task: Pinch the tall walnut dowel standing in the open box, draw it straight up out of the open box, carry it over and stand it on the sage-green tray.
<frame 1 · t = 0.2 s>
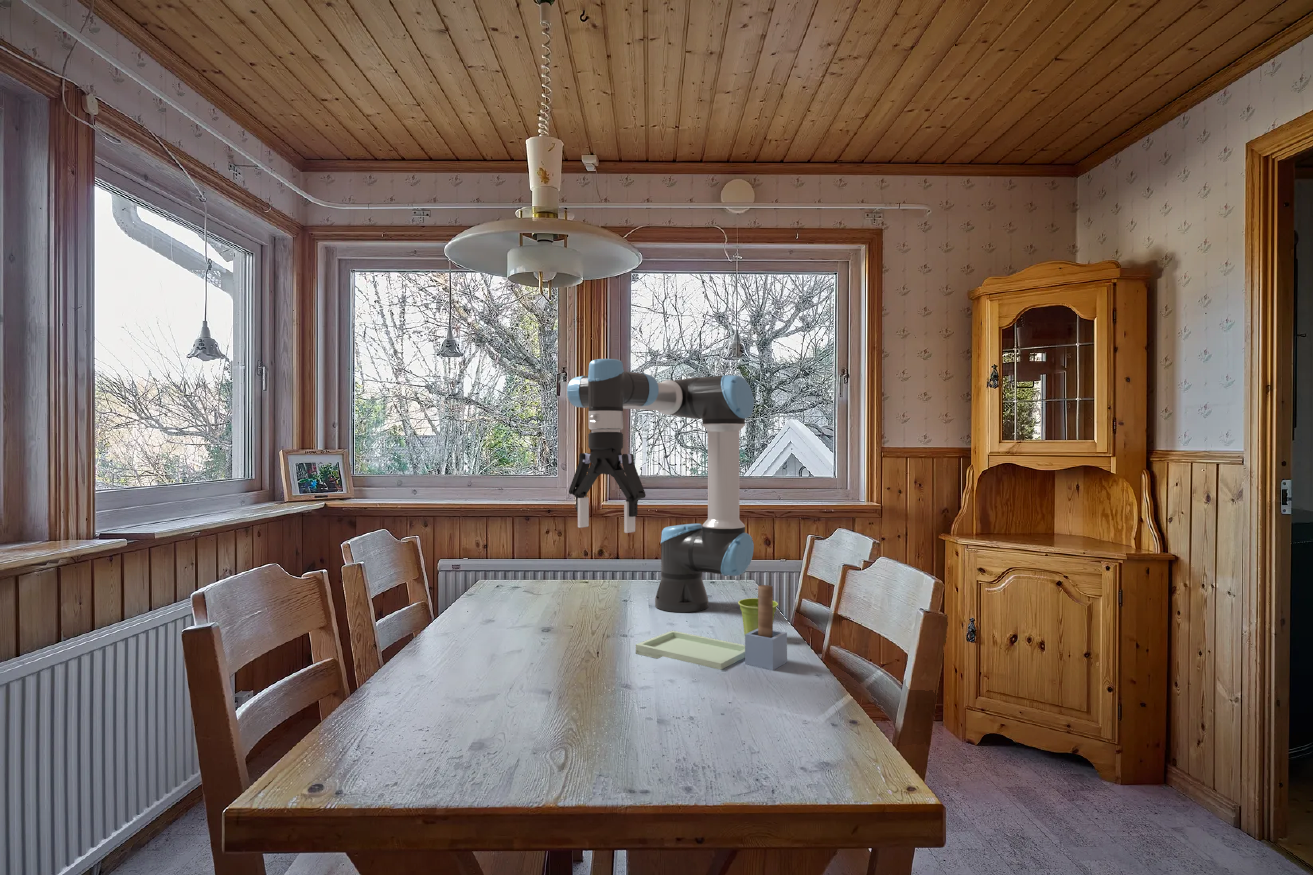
hand: (605, 529, 150), 28 cm above the table, fingers open, 13 cm apart
dowel: (765, 663, 144), point 1 cm above the table, touching open box
open box: (766, 666, 144), on the table
plant pot: (758, 639, 165), on the table
tray: (694, 654, 153), on the table
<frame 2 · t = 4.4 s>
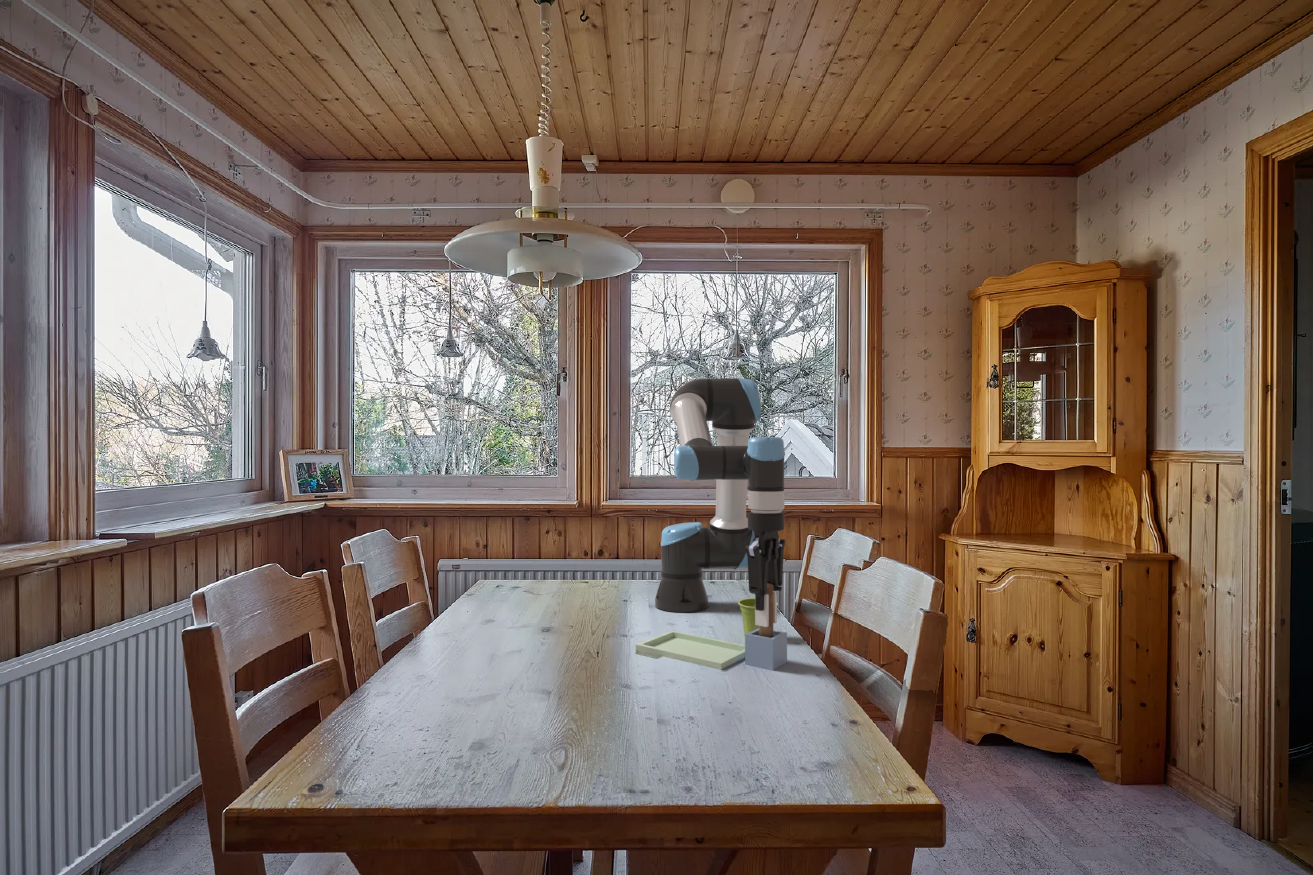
hand: (766, 623, 145), 9 cm above the table, fingers closed on dowel, 3 cm apart
dowel: (766, 661, 145), point 1 cm above the table, touching gripper
everything else where it was.
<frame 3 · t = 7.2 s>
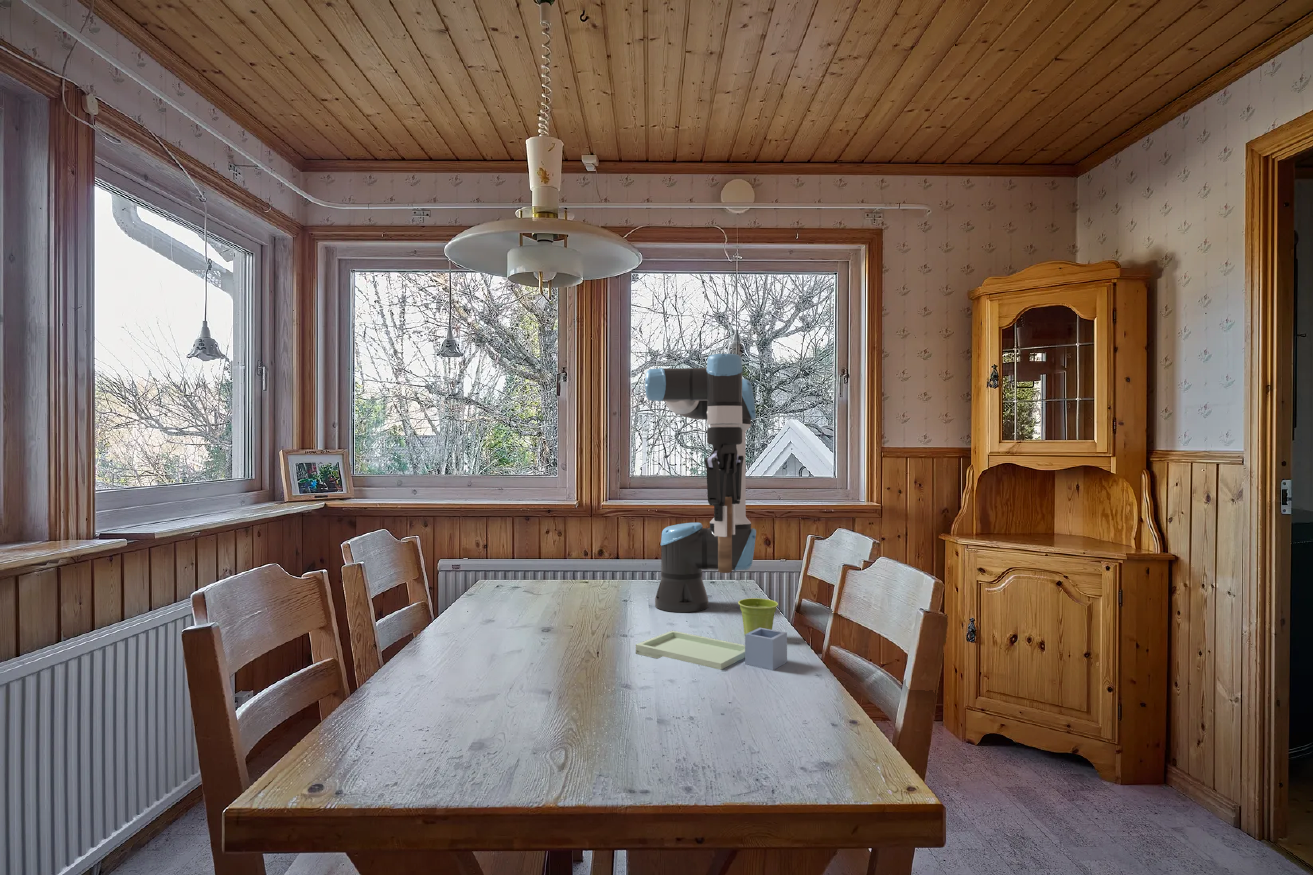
hand: (724, 534, 150), 27 cm above the table, fingers closed on dowel, 3 cm apart
dowel: (725, 571, 150), point 19 cm above the table, touching gripper
everything else where it was.
when the fingers open (10 cm above the table, at t = 10.6 s): dowel drops 1 cm, resting on tray.
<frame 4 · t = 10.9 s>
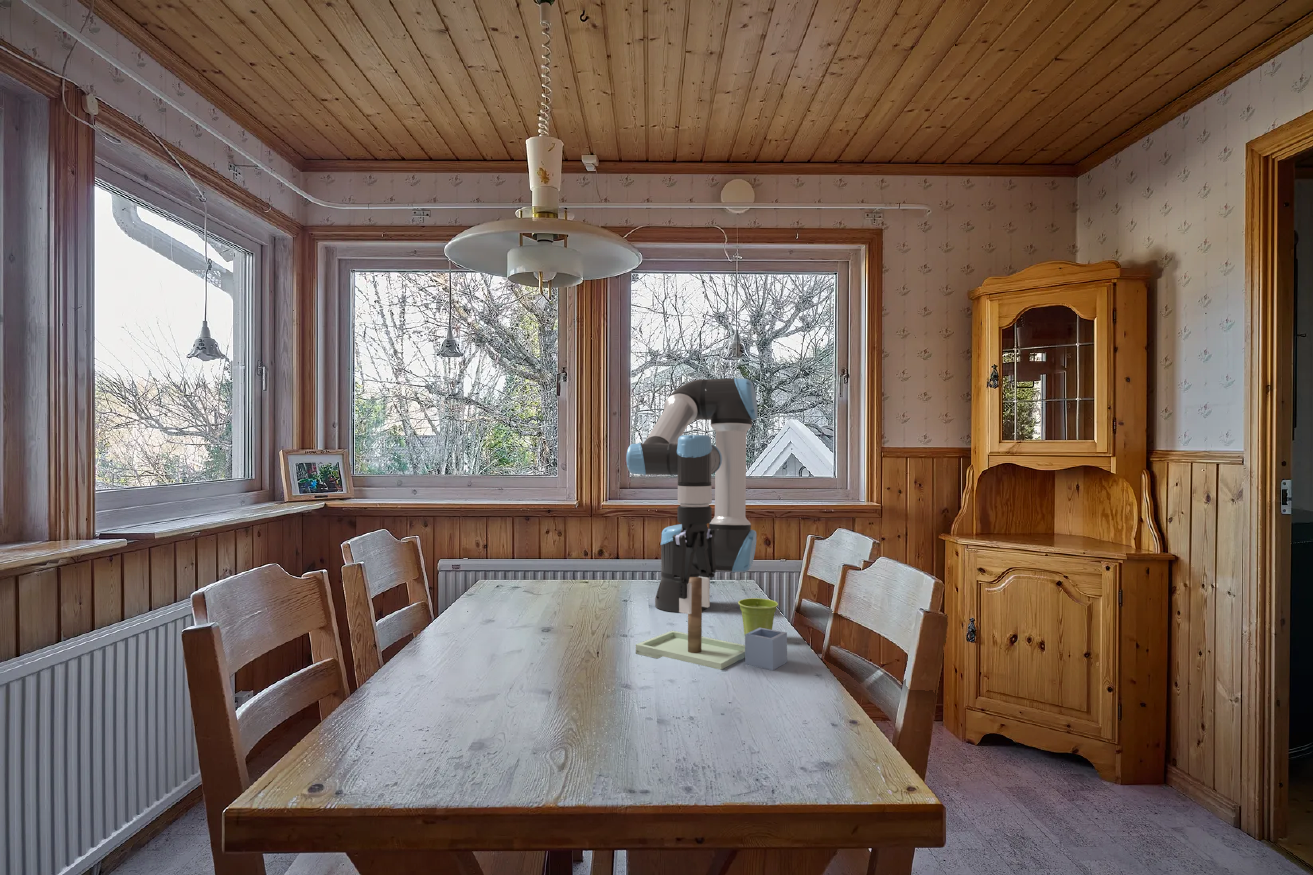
hand: (694, 609, 153), 10 cm above the table, fingers open, 7 cm apart
dowel: (694, 650, 153), point 1 cm above the table, touching tray
everything else where it was.
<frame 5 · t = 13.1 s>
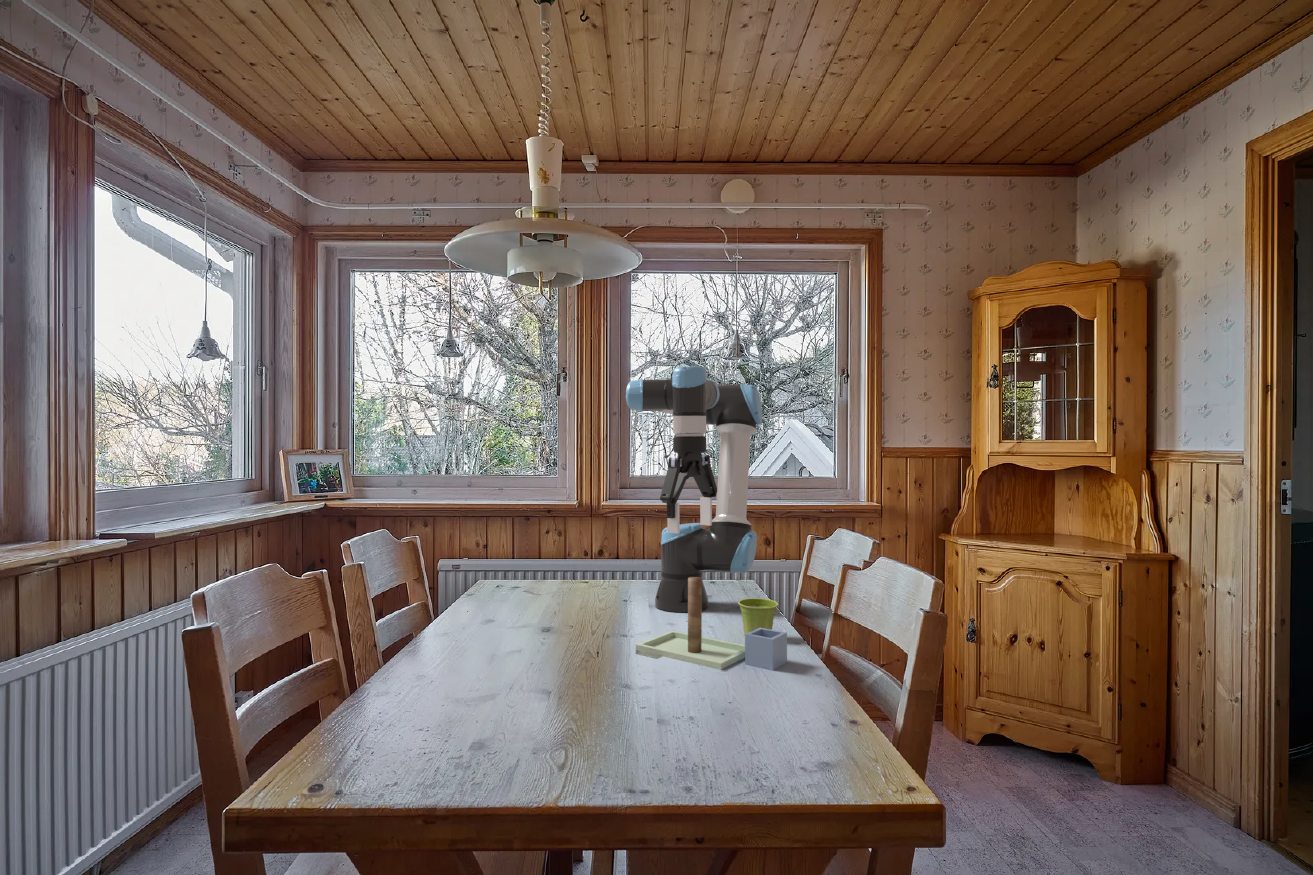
hand: (690, 529, 157), 27 cm above the table, fingers open, 13 cm apart
nothing on the table moved.
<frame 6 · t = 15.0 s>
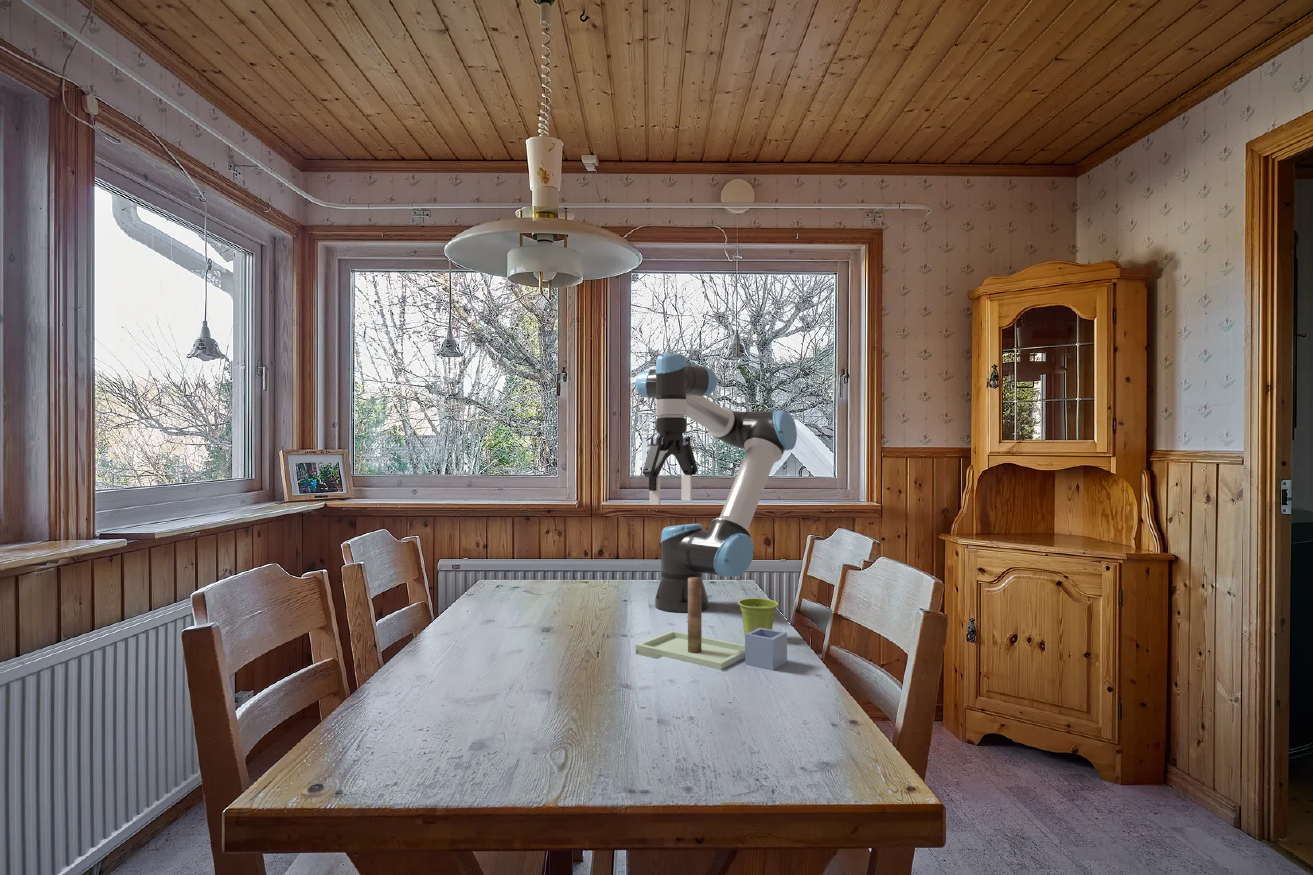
hand: (671, 502, 172), 32 cm above the table, fingers open, 13 cm apart
nothing on the table moved.
at the end: dowel inside the target area on the tray (0.0 cm from its centre), point 0.8 cm above the tray's base; the gripper is holding nothing; dowel touching tray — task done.
